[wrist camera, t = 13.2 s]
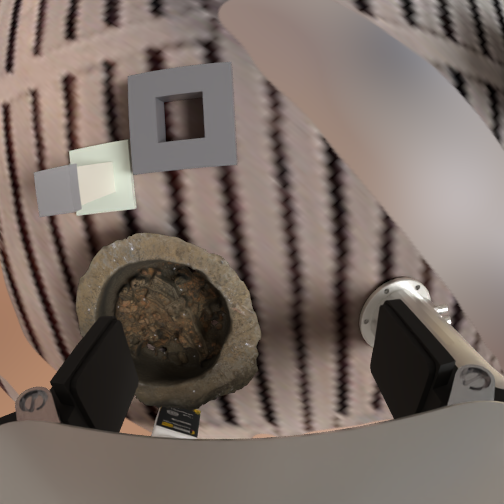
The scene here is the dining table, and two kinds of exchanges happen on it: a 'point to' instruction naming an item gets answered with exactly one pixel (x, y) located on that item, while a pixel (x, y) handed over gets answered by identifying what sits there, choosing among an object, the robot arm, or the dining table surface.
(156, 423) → the medicine bottle
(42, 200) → the plug
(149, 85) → the grey square ring
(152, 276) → the stone bowl
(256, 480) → the robot arm
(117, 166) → the coaster
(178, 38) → the dining table surface
